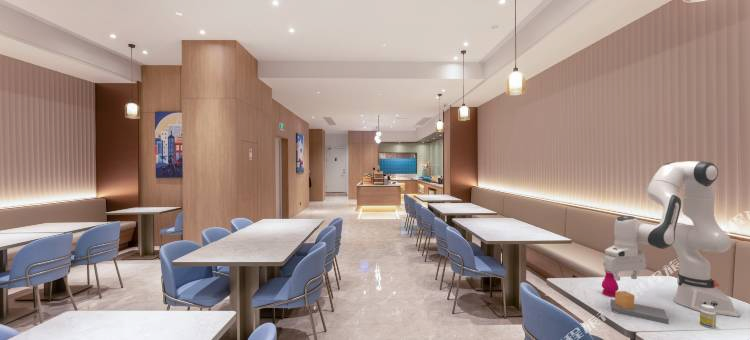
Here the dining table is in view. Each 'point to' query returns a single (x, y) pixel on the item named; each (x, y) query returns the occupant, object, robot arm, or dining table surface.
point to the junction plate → (642, 312)
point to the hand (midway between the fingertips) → (625, 279)
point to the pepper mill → (609, 284)
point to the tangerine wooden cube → (624, 299)
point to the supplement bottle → (707, 316)
